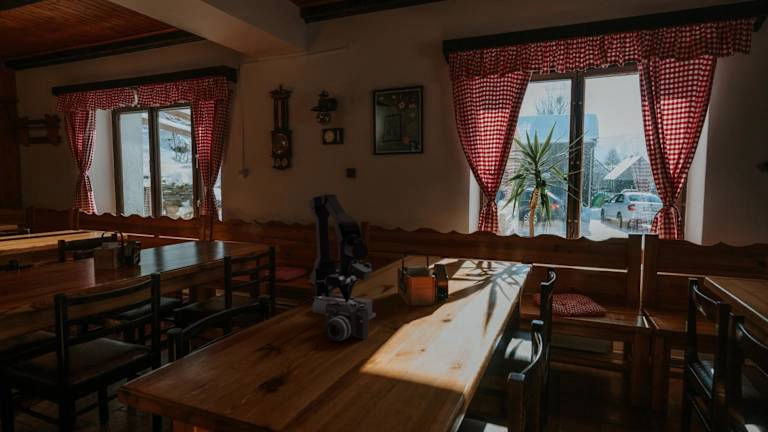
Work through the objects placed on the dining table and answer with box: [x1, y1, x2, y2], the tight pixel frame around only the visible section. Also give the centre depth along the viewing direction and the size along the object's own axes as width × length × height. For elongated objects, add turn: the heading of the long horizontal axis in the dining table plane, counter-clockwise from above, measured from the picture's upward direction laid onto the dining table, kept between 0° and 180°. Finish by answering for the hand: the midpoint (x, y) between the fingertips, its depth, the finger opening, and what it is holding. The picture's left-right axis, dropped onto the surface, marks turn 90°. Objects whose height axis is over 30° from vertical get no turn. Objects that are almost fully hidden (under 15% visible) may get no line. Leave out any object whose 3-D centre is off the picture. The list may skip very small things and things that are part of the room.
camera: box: [325, 300, 369, 342], centre depth 133 cm, size 14×11×10 cm
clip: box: [353, 297, 373, 315], centre depth 153 cm, size 5×4×4 cm
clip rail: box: [368, 312, 377, 321], centre depth 154 cm, size 8×5×1 cm, turn 62°
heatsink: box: [312, 292, 359, 316], centre depth 158 cm, size 15×10×5 cm, turn 62°
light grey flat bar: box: [319, 296, 354, 303], centre depth 158 cm, size 14×2×1 cm, turn 62°
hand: (347, 300), depth 156 cm, fingers closed, pressing on light grey flat bar
